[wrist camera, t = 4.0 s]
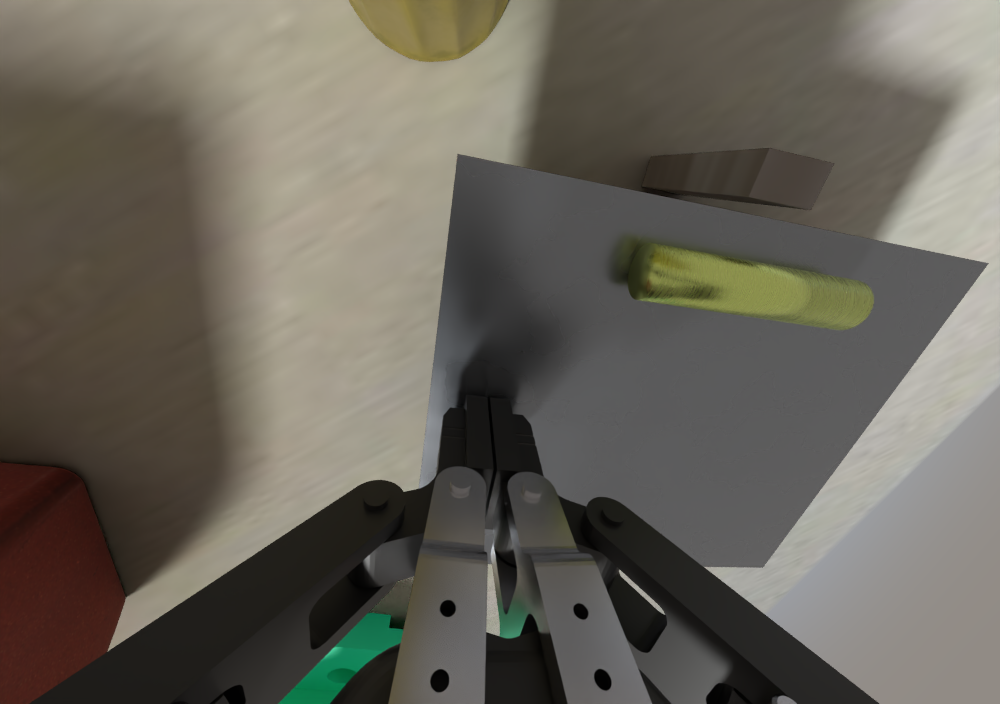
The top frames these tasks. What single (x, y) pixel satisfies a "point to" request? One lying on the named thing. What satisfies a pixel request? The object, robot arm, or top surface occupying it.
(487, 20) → the vase
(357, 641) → the camera mount
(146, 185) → the top surface
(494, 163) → the tilt plate
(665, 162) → the levelling stand
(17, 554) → the plant pot
